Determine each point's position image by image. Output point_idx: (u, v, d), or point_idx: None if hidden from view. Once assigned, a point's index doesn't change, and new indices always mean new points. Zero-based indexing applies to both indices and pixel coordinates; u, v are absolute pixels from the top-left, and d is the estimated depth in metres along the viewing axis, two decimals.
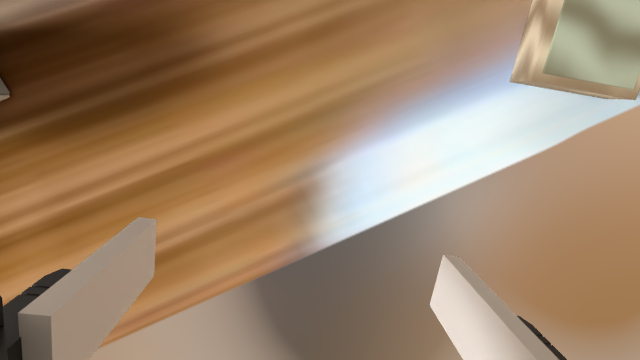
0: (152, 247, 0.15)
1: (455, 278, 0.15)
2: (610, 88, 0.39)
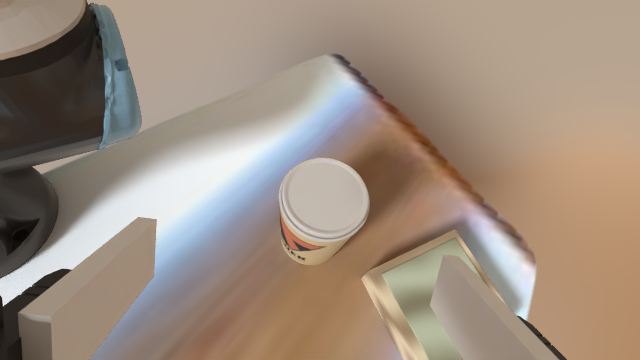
0: (152, 247, 0.15)
1: (455, 278, 0.15)
2: None
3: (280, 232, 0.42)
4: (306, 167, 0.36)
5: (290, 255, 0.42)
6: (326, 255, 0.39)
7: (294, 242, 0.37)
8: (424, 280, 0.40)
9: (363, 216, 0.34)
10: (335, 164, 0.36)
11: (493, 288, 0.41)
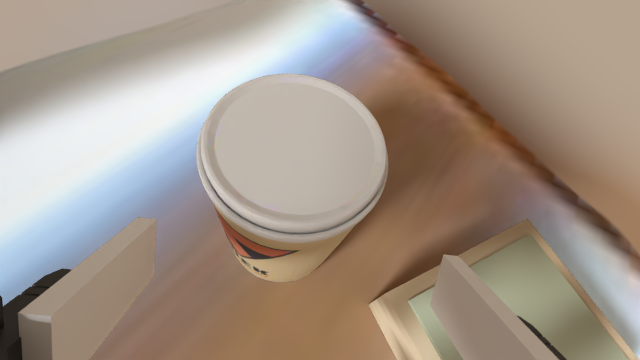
0: (152, 247, 0.15)
1: (455, 278, 0.15)
2: None
3: None
4: (258, 90, 0.18)
5: (244, 265, 0.24)
6: (304, 266, 0.21)
7: (238, 242, 0.18)
8: None
9: (376, 185, 0.16)
10: (318, 87, 0.18)
11: (607, 323, 0.23)
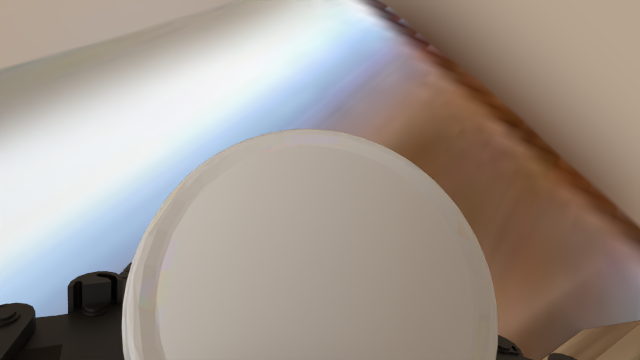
0: None
1: None
2: None
3: None
4: (251, 162, 0.10)
5: None
6: None
7: None
8: None
9: None
10: (358, 152, 0.10)
11: None
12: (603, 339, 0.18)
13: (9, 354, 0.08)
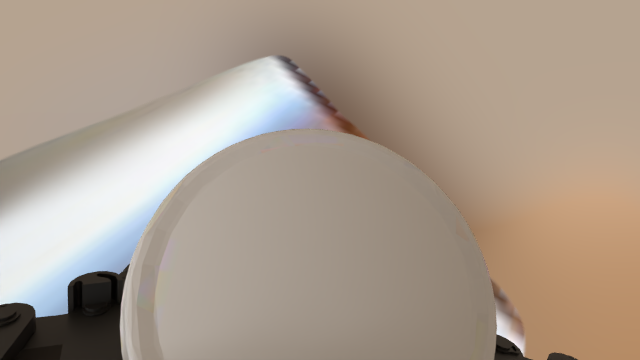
0: None
1: None
2: None
3: None
4: (249, 162, 0.10)
5: None
6: None
7: None
8: None
9: None
10: (356, 152, 0.10)
11: None
12: None
13: (9, 354, 0.08)
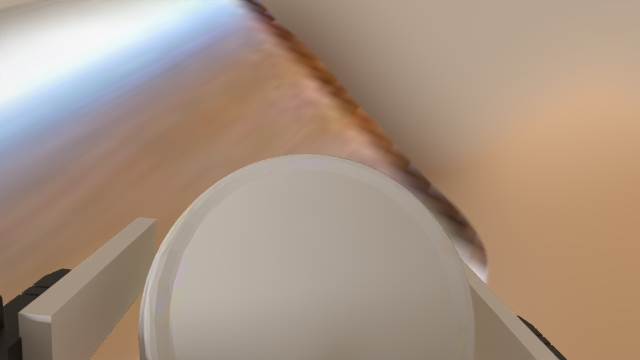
0: (152, 247, 0.15)
1: None
2: None
3: None
4: (253, 186, 0.11)
5: None
6: None
7: None
8: None
9: None
10: (351, 175, 0.11)
11: None
12: None
13: None
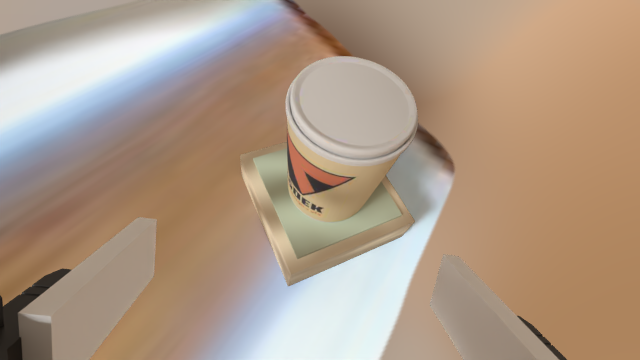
0: (152, 247, 0.15)
1: (455, 278, 0.15)
2: (380, 227, 0.32)
3: None
4: (325, 67, 0.25)
5: (301, 208, 0.31)
6: (352, 201, 0.28)
7: (307, 177, 0.25)
8: None
9: (411, 129, 0.23)
10: (366, 65, 0.26)
11: (386, 180, 0.35)
12: None
13: None
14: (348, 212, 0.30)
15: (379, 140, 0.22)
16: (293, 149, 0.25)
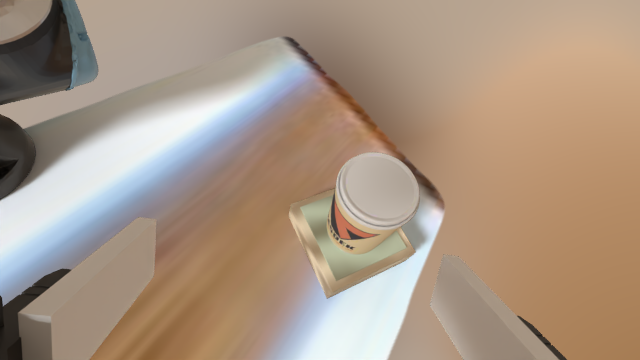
0: (152, 247, 0.15)
1: (455, 278, 0.15)
2: (392, 257, 0.46)
3: (328, 223, 0.44)
4: (360, 161, 0.38)
5: (337, 245, 0.45)
6: (375, 244, 0.41)
7: (347, 231, 0.39)
8: None
9: (415, 206, 0.36)
10: (386, 158, 0.39)
11: None
12: None
13: None
14: (371, 249, 0.44)
15: (396, 214, 0.36)
16: (339, 214, 0.38)
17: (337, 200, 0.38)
